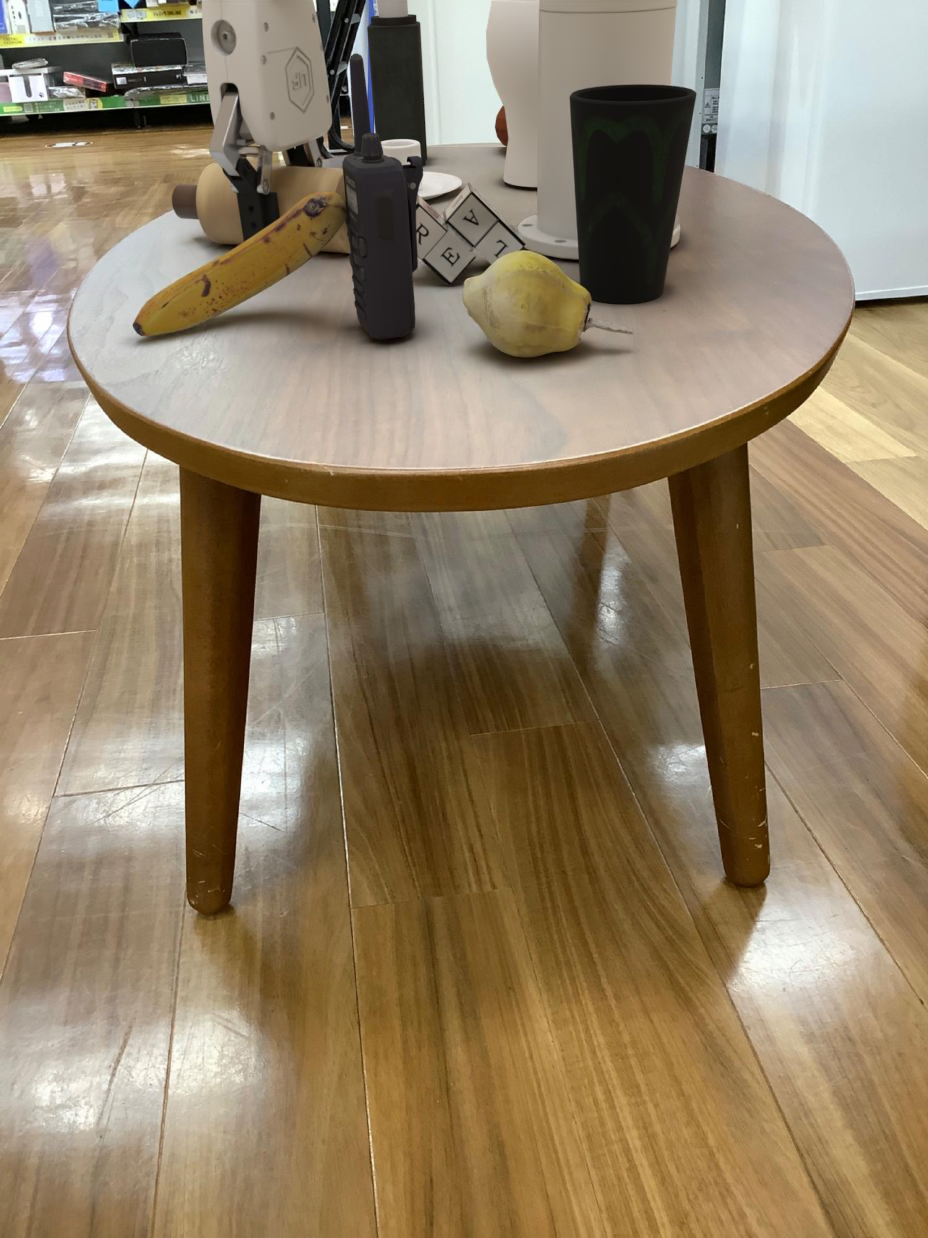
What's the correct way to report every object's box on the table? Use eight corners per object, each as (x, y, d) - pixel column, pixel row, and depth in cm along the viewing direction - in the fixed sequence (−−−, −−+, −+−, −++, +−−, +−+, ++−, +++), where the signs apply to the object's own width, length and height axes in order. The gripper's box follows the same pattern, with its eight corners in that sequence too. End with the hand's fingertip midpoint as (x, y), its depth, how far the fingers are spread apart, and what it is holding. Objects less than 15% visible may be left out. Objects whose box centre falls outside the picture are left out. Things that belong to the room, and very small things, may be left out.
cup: (687, 278, 70) (705, 84, 63) (668, 312, 64) (686, 102, 57) (579, 271, 72) (585, 83, 65) (552, 303, 66) (555, 101, 59)
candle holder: (367, 214, 88) (363, 161, 86) (316, 190, 97) (310, 141, 94) (485, 195, 93) (484, 144, 90) (425, 173, 101) (423, 126, 99)
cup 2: (565, 163, 102) (569, -10, 94) (619, 182, 94) (629, -5, 86) (470, 176, 99) (465, -3, 90) (518, 196, 91) (518, 3, 82)
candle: (425, 166, 105) (409, -133, 90) (376, 167, 105) (353, -131, 91) (427, 156, 109) (413, -131, 95) (381, 158, 109) (359, -128, 95)
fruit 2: (637, 370, 56) (460, 353, 55) (615, 363, 62) (454, 347, 61) (653, 261, 54) (470, 241, 54) (629, 264, 60) (464, 246, 59)
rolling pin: (411, 247, 79) (407, 164, 76) (378, 264, 75) (373, 177, 72) (207, 232, 85) (196, 155, 82) (165, 247, 81) (152, 166, 78)
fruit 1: (308, 182, 54) (337, 233, 55) (352, 177, 62) (377, 222, 63) (99, 317, 60) (129, 363, 60) (165, 297, 68) (190, 337, 68)
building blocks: (472, 289, 76) (391, 214, 72) (521, 234, 74) (441, 154, 70) (477, 311, 71) (391, 232, 68) (530, 254, 69) (445, 170, 66)
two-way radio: (350, 318, 64) (324, 51, 56) (417, 309, 65) (401, 46, 57) (371, 346, 60) (345, 61, 51) (441, 336, 61) (428, 55, 52)
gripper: (230, -29, 62) (271, 269, 72) (356, -41, 75) (375, 212, 85) (130, -27, 64) (184, 261, 74) (268, -39, 77) (298, 207, 87)
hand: (286, 233), depth 80 cm, fingers closed on rolling pin, 6 cm apart
